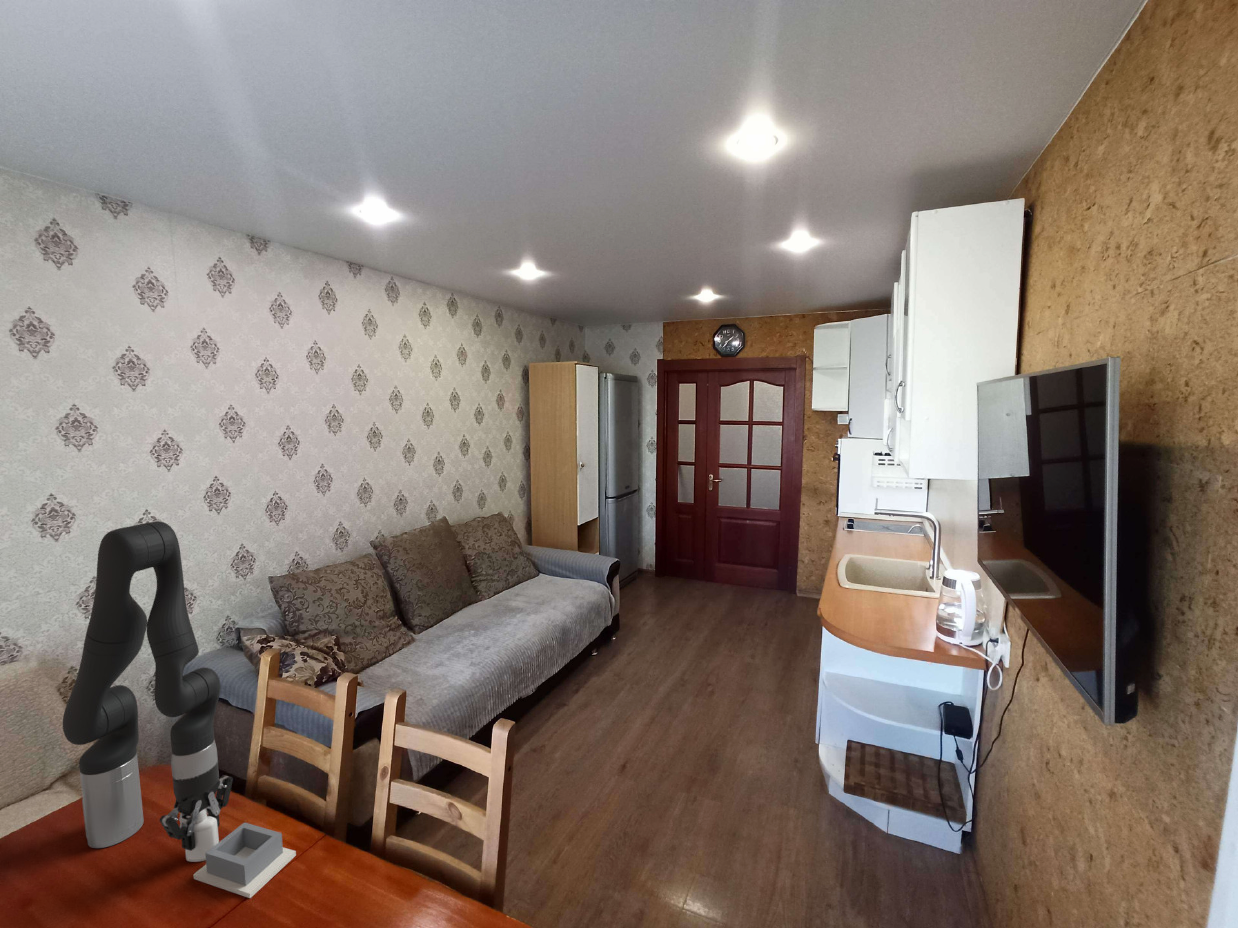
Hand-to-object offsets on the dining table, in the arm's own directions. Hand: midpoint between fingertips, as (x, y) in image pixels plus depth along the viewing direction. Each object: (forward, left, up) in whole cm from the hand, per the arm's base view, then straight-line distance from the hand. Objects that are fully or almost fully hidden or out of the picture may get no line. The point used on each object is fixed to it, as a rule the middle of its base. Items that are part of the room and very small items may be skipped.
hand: (201, 839), depth 114 cm
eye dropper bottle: (0, 0, -4) cm, 4 cm away
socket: (+11, +1, -4) cm, 12 cm away
